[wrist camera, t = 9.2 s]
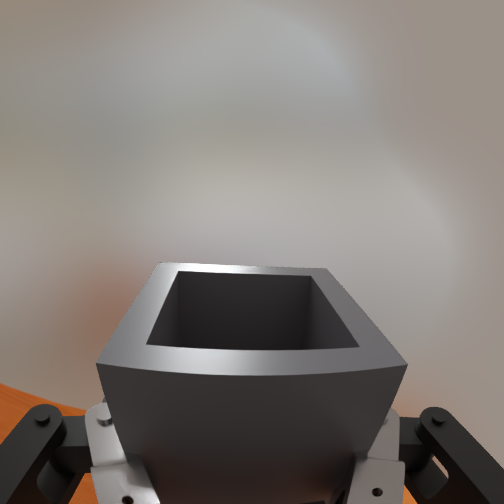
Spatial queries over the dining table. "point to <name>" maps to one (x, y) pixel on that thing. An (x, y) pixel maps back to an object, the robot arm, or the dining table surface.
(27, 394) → the dining table surface
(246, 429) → the sleeve
